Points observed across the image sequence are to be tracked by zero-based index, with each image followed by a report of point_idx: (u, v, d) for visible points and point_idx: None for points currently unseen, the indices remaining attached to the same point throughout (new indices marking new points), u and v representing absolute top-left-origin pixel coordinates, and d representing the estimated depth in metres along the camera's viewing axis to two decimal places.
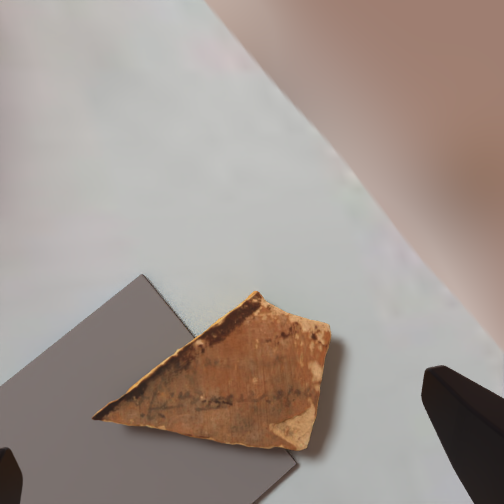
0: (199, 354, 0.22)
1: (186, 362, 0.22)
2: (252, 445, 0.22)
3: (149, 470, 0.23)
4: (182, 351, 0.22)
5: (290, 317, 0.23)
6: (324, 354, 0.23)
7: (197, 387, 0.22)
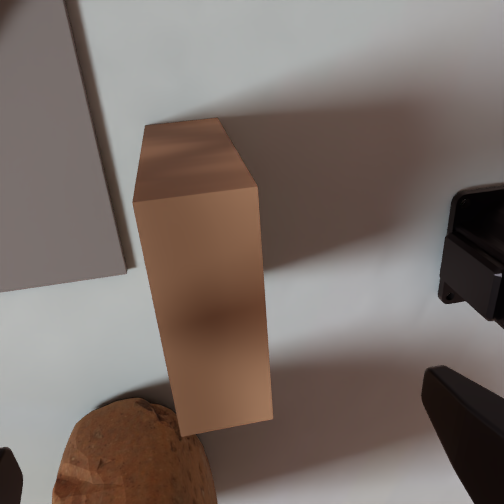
0: None
1: None
2: None
3: None
4: None
5: None
6: None
7: None
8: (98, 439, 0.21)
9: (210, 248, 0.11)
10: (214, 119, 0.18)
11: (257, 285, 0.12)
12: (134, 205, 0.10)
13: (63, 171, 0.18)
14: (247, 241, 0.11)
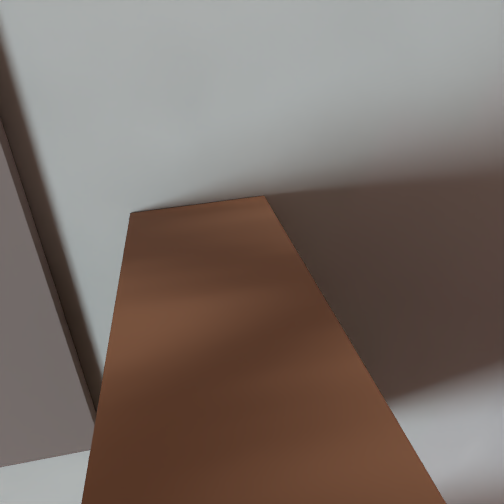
0: None
1: None
2: None
3: None
4: None
5: None
6: None
7: None
8: None
9: None
10: (259, 201, 0.10)
11: None
12: None
13: None
14: None
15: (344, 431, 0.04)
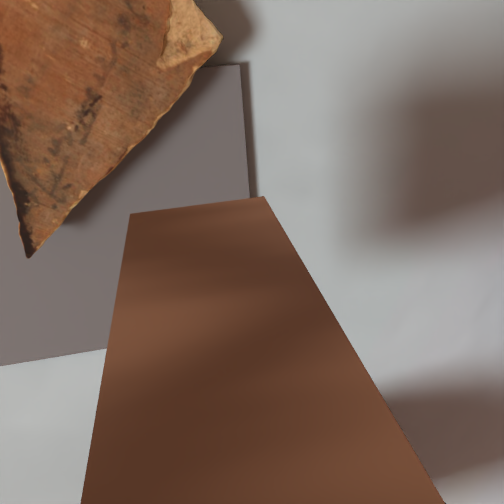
0: (6, 95, 0.14)
1: (9, 119, 0.15)
2: (170, 104, 0.15)
3: None
4: None
5: None
6: None
7: (53, 125, 0.15)
8: None
9: None
10: (259, 202, 0.10)
11: None
12: None
13: None
14: None
15: (344, 433, 0.04)
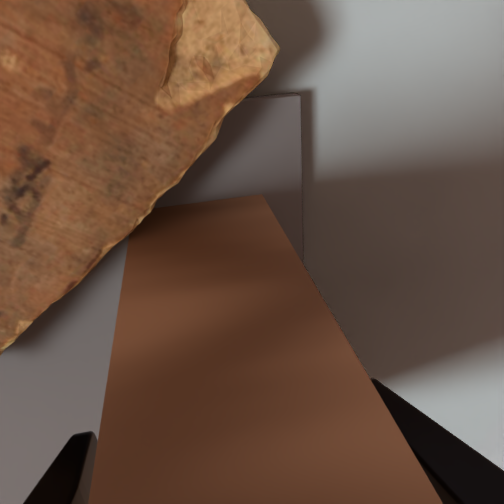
0: None
1: None
2: (180, 172, 0.08)
3: None
4: None
5: None
6: None
7: None
8: None
9: None
10: (258, 199, 0.10)
11: None
12: None
13: None
14: None
15: (334, 411, 0.05)
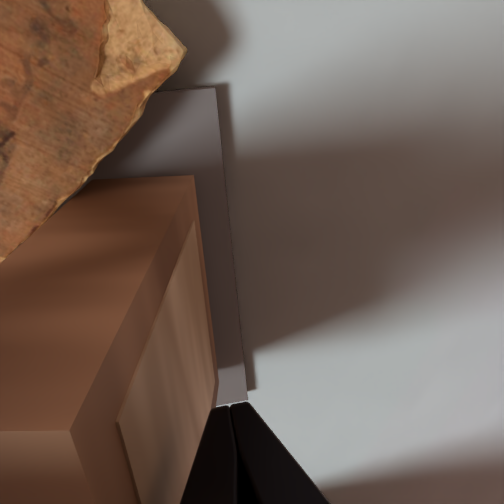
0: None
1: None
2: (113, 142, 0.11)
3: None
4: None
5: None
6: None
7: None
8: None
9: None
10: (186, 178, 0.13)
11: None
12: None
13: None
14: None
15: (96, 305, 0.07)
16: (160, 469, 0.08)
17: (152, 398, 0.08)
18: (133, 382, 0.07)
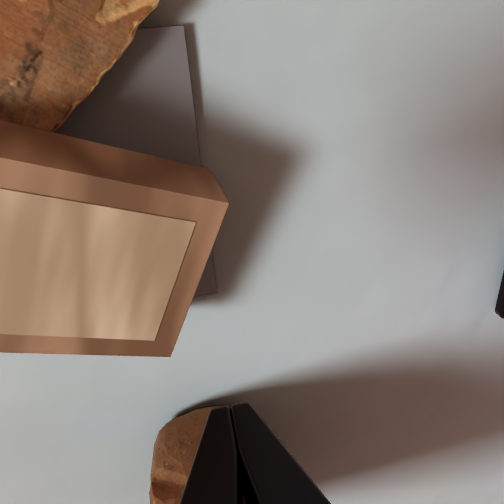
0: None
1: None
2: (112, 60, 0.16)
3: None
4: None
5: None
6: None
7: None
8: (188, 445, 0.23)
9: None
10: (219, 199, 0.16)
11: None
12: None
13: None
14: None
15: (33, 156, 0.14)
16: (7, 257, 0.15)
17: (21, 218, 0.14)
18: (4, 190, 0.14)
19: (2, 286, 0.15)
